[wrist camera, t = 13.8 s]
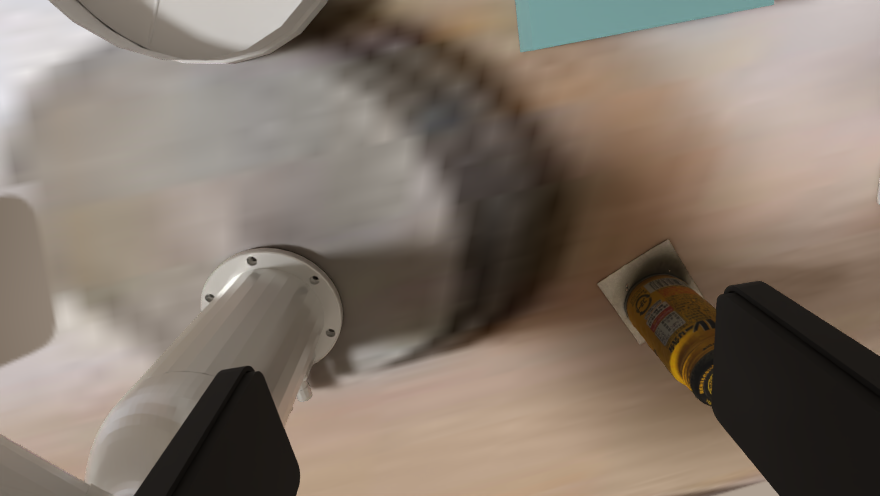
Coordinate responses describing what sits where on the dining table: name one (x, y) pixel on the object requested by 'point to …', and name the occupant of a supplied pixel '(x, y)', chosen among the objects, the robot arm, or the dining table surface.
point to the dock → (610, 17)
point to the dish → (194, 26)
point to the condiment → (667, 315)
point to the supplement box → (879, 196)
